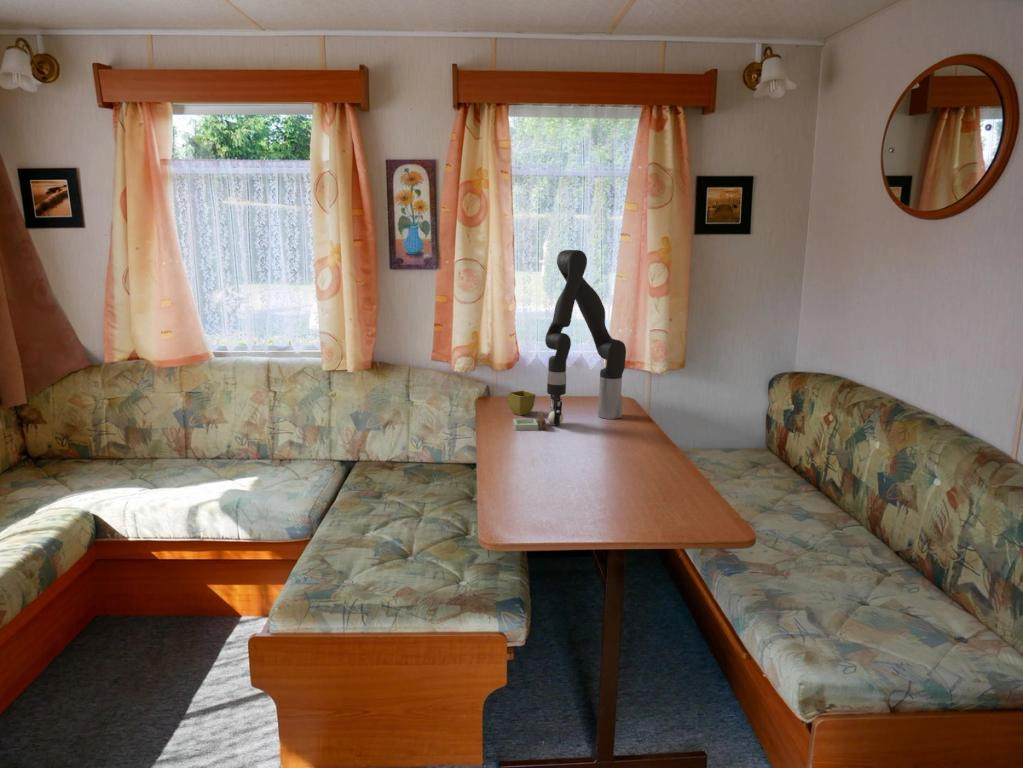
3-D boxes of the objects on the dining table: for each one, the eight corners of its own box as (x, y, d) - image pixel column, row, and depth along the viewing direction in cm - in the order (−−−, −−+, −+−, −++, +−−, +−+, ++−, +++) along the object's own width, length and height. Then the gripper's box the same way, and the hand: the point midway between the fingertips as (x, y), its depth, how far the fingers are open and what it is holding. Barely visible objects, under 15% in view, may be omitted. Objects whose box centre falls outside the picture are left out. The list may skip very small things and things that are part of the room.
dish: (535, 423, 277) (535, 418, 277) (538, 429, 268) (538, 424, 268) (513, 423, 276) (513, 418, 276) (515, 430, 268) (515, 425, 267)
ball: (561, 422, 279) (562, 408, 277) (564, 427, 273) (564, 412, 272) (547, 423, 278) (547, 408, 277) (549, 427, 272) (549, 412, 271)
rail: (542, 422, 279) (543, 412, 279) (547, 430, 268) (547, 420, 267) (535, 422, 279) (535, 412, 278) (539, 430, 268) (539, 420, 267)
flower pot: (522, 410, 298) (522, 390, 296) (535, 414, 291) (536, 393, 289) (506, 413, 292) (507, 392, 290) (520, 417, 286) (520, 396, 284)
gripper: (569, 386, 265) (567, 427, 269) (563, 378, 279) (561, 417, 283) (550, 386, 264) (548, 427, 268) (544, 378, 278) (543, 417, 282)
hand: (555, 422), depth 275 cm, fingers closed on ball, 6 cm apart
